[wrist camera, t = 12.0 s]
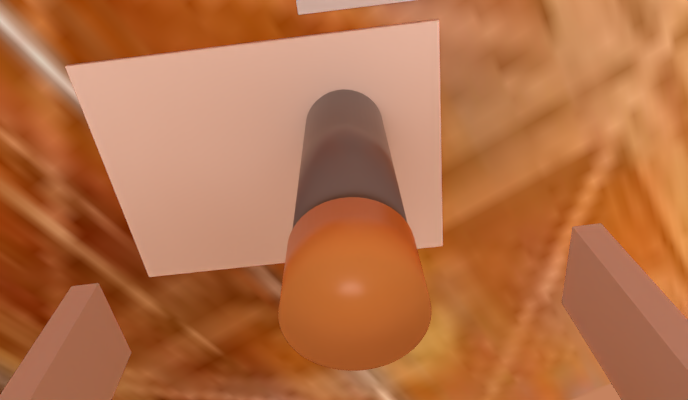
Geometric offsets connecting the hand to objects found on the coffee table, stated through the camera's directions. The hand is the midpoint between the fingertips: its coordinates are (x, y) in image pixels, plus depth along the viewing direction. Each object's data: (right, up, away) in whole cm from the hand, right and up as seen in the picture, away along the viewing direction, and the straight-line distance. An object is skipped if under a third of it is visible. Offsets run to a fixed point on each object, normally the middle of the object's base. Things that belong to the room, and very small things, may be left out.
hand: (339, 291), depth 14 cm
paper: (-4, +5, +13) cm, 14 cm away
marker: (0, +6, +12) cm, 13 cm away
